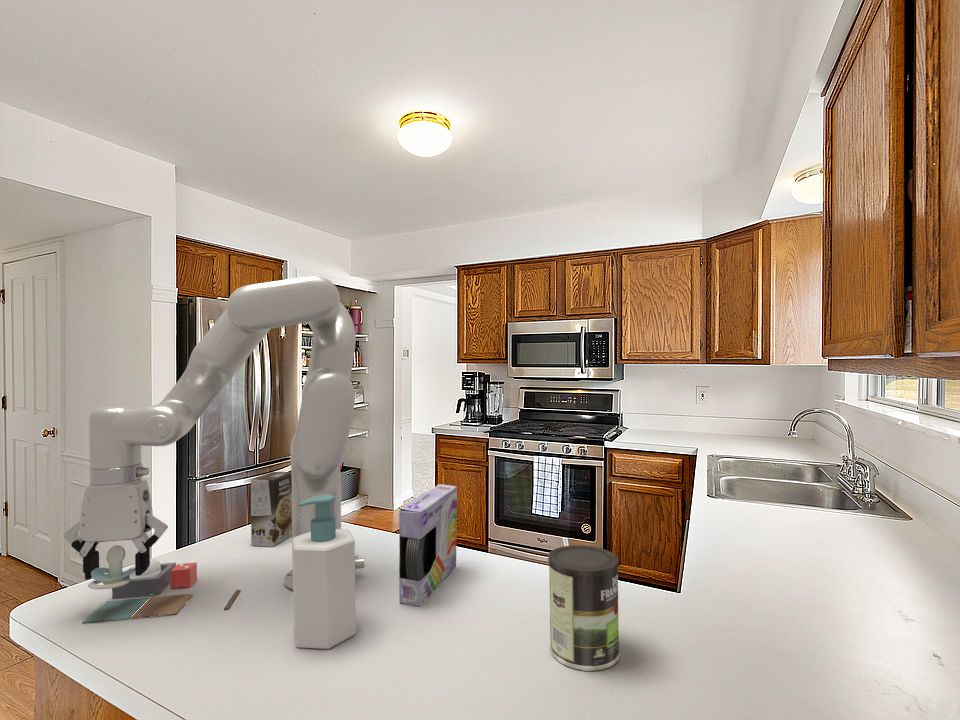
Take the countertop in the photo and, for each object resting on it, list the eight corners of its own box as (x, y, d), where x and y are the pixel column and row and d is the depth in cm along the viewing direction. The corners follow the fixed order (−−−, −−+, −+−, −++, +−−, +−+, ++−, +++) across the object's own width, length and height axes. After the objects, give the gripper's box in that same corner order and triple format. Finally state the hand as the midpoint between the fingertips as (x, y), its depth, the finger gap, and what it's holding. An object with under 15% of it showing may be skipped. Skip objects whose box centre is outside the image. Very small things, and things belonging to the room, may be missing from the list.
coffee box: (274, 547, 121) (273, 479, 121) (250, 546, 122) (249, 478, 122) (295, 534, 130) (294, 471, 130) (272, 533, 131) (272, 470, 131)
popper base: (201, 575, 106) (200, 556, 106) (185, 592, 98) (185, 572, 98) (133, 580, 104) (133, 561, 104) (112, 598, 96) (111, 578, 96)
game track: (240, 591, 98) (240, 589, 98) (228, 609, 91) (228, 608, 91) (106, 602, 94) (106, 601, 94) (82, 623, 86) (82, 621, 86)
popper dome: (165, 579, 103) (165, 553, 103) (154, 590, 98) (153, 563, 98) (137, 581, 102) (137, 555, 102) (124, 593, 97) (123, 565, 97)
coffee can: (628, 644, 78) (627, 551, 78) (607, 680, 69) (605, 576, 69) (565, 626, 83) (564, 540, 83) (538, 657, 75) (536, 561, 75)
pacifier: (123, 591, 87) (144, 575, 93) (122, 555, 87) (143, 541, 93) (78, 593, 86) (101, 577, 92) (77, 556, 86) (100, 542, 92)
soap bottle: (292, 624, 85) (290, 492, 85) (348, 613, 89) (346, 486, 89) (296, 657, 76) (294, 508, 76) (359, 642, 79) (357, 501, 79)
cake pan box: (420, 611, 89) (418, 510, 89) (394, 607, 91) (393, 507, 91) (459, 568, 107) (458, 484, 107) (437, 565, 109) (436, 483, 109)
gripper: (177, 468, 96) (178, 562, 96) (74, 473, 93) (75, 570, 93) (160, 477, 89) (161, 579, 89) (47, 482, 86) (48, 588, 86)
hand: (117, 573), depth 91 cm, fingers closed on pacifier, 7 cm apart
